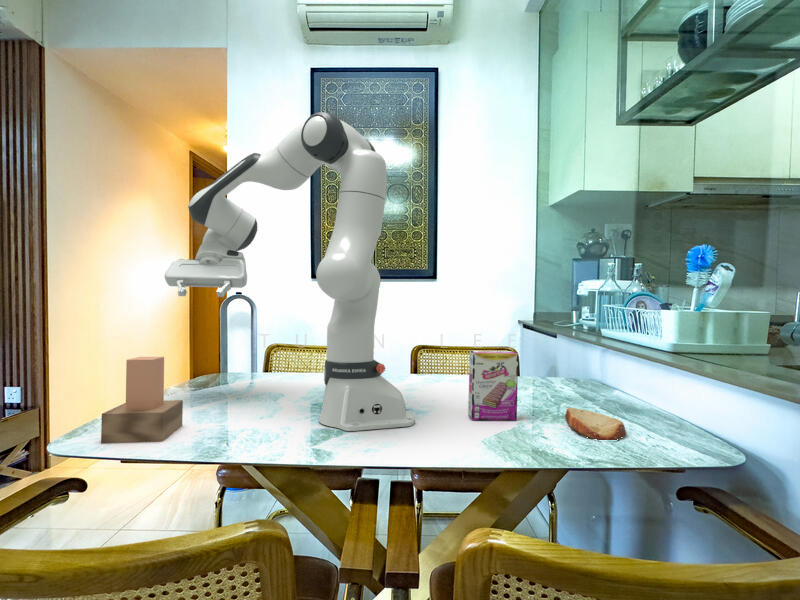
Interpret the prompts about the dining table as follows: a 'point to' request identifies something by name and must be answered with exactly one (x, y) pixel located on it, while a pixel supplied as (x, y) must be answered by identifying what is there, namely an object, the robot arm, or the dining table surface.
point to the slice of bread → (594, 424)
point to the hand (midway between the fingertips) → (200, 294)
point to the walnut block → (141, 423)
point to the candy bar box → (493, 385)
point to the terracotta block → (144, 383)
